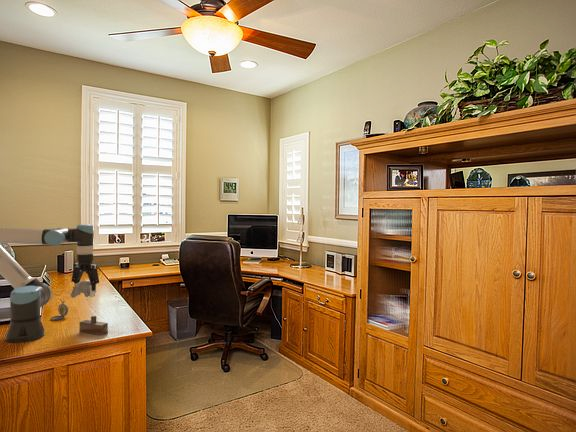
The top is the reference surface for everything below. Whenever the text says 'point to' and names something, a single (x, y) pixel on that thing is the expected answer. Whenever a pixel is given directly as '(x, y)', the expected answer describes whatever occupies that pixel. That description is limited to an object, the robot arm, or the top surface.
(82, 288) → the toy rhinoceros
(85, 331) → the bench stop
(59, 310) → the pocket watch
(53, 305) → the top surface
